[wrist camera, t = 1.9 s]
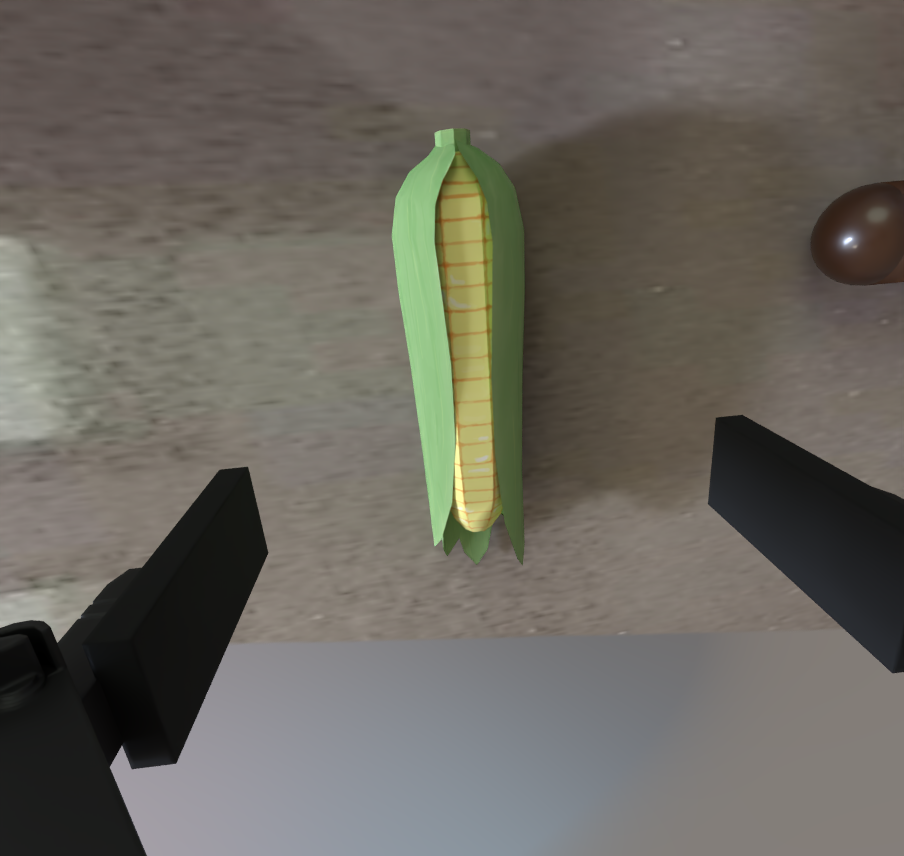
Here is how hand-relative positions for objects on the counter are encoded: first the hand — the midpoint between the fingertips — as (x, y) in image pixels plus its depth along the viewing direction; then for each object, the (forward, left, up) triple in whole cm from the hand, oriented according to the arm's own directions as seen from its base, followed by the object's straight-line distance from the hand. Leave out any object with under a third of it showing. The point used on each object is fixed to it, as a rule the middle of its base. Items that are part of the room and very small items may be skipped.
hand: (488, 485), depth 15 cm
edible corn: (0, 0, -11) cm, 11 cm away
